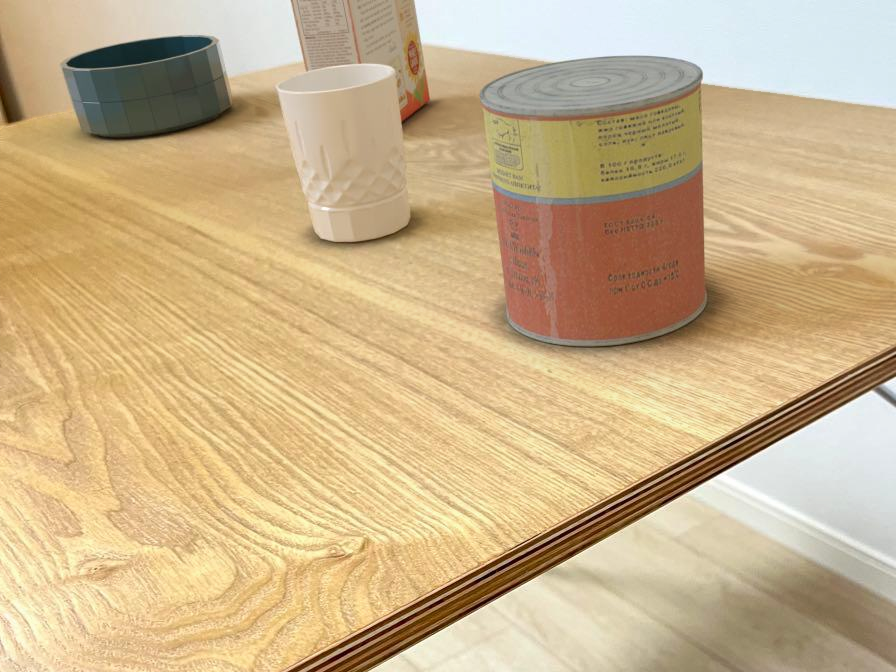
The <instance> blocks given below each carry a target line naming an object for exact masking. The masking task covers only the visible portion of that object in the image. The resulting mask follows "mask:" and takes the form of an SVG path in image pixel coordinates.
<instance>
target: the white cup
mask: <svg viewBox="0 0 896 672" xmlns="http://www.w3.org/2000/svg"><path fill="white" fill-rule="evenodd" d="M274 88H275V92H276V95H277V99H278V103H279V107H280V111H281V114H282V118H283V122H284V126H285V129H286V133H287V137H288V141H289V146H290V149H291V154H292V158H293V160H294V161H293V162H294V164H295V169H296V170H297V174H298V176H299V177H298V178H299V181H300V186H301V189H302V192H303V195H304V198H305V199H306V200H307V206H308V207H307V208H308V211H309V215H310V219H311V222H312V226H313V230H314V233H315V234H316V235H317V236H318V237H319V238H320V239H321V240H324V241H329V242H334V243H356V242H363V241H369V240H375V239H379V238H383V237H386V236H388V235H392V234H395V233H397V232H398V231H400V230H402V229H403V228H405V227H406V226H408V224H409V223H410V220H411V217H412V216H411V206H410V200H409V192H408V186H407V183H408V171H407V170H408V169H407V162H406V149H405V141H404V139H405V138H404V132H403V125H402V124H403V123H402V122H401V115H400V106H399V98H398V89H397V81H396V72H395V69H394V68H393V67H391V66H388V65H383V64H349V65H340V66H332V67H326V68H320V69H315V70H311V71H307V72H306V71H302V72H299V73H296V74H293V75H290V76H287V77H285V78H283V79H281V80H280V81H278V82H276V84H275V86H274Z"/></svg>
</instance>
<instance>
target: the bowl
mask: <svg viewBox="0 0 896 672" xmlns="http://www.w3.org/2000/svg"><path fill="white" fill-rule="evenodd" d="M59 66H60V70H61V73H62V77H63V80H64V83H65V86H66V89H67V92H68V95H69V98H70V102H71V105H72V108H73V112H74V116H75V118H76V122H77V124H78V127H79V129H80V130H81V131H82V132H84V133H88V134H93V135H96V136H98V137H102V138H103V137H104V138H113V139H115V138H116V139H117V138H125V139H126V138H139V137H147V136H152V135H153V136H155V135H160V134H165V133H170V132H171V133H172V132H176V131H180V130H184V129H188V128H191V127H194V126H198V125H202V124H204V123H206V122H209V121H211V120H213V119H216V118H217V117H218V116H220V115H222V113H224V111H225V110H227V109H229V108H230V107H231V106H232V105H233V103H234V98H233V93H232V90H231V89H232V88H231V85H230V81H229V76H228V73H227V68H226V63H225V60H224V56H223V50H222V47H221V43H220V39H219V38H217V37H215V36H212V35H205V34H179V35H167V36H157V37H150V38H149V37H148V38H143V39H142V38H141V39H136V40H131V41H124V42H119V43H114V44H110V45H105V46H102V47H101V46H100V47H97V48H93V49H89V50H86V51H84V52H80V53H77V54H74V55H72V56H69V57H67V58H66V59H63V61H61V62H60V63H59Z"/></svg>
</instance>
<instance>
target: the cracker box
mask: <svg viewBox="0 0 896 672" xmlns="http://www.w3.org/2000/svg"><path fill="white" fill-rule="evenodd" d="M415 2H416V1H415V0H290V4H291V9H292V14H293V19H294V23H295V27H296V32H297V37H298V42H299V46H300V51H301V56H302V58H303V59H302V60H303V65H304V70H305V72H307V71H311V70H315V69H320V68H326V67H332V66H340V65H349V64H383V65H388V66H391V67H393V68H394V69H395V72H396V81H397V89H398V98H399V106H400V115H401V123H402V122H404V121H405V120H407V119H408V118H409V117H410V116H411V115H413V114H414V113H415V112H416V111H418V110H419V109H420V108H422V107H423V106H424V105H425V104H427V103H428V102H429V101H430V99H431V98H430V91H429V84H428V79H427V73H426V66H425V58H424V53H423V52H424V51H423V46H422V39H421V33H420V27H419V21H418V15H417V9H416V3H415Z"/></svg>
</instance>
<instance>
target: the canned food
mask: <svg viewBox="0 0 896 672" xmlns="http://www.w3.org/2000/svg"><path fill="white" fill-rule="evenodd" d="M703 79H704V72H703V70H702V68H701V67H700V66H699V65H697V64H695V63H693V62H691V61H689V60H685V59H681V58H680V59H679V58H675V57H668V56H657V55H656V56H655V55H610V56H609V55H608V56H607V55H606V56H594V57H585V58H576V59H569V60H563V61H557V62H556V61H555V62H550V63H546V64H541V65H536V66H531V67H527V68H523V69H520V70H516V71H514V72H511V73H508V74H504V75H502V76H500V77H498V78H495V79H493V80H492V81H489V82H488V83H486V84H485V85H484V86H483V87H482V88H481V90H479V94H478V95H479V101H480V103H481V104H482V112H483V120H484V128H485V137H486V144H487V145H486V146H487V153H488V161H489V168H490V169H489V170H490V177H491V185H492V195H493V202H494V203H493V204H494V209H495V210H494V211H495V218H496V228H497V234H498V243H499V252H500V258H501V268H502V275H503V283H504V290H505V291H504V293H505V300H506V301H505V302H506V308H505V314H506V319H507V322H508V323H509V324H510V326H511V327H512V329H515V330H516V331H517V332H518V333H520V334H522V335H524V336H526V337H528V338H531V339H533V340H536V341H540V342H543V343H547V344H554V345H560V346H567V347H608V346H618V345H627V344H631V343H637V342H643V341H647V340H650V339H651V340H652V339H654V338H657V337H661V336H664V335H666V334H669V333H672V332H674V331H676V330H679V329H681V328H683V327H685V326H686V325H688V324H689V323H691V322H692V321H694V320H695V319H696V318H697V317H698V316H699V315H700V314H702V312H703V311H704V310H705V307H706V305H707V302H708V294H707V290H706V289H707V288H706V266H705V265H706V261H705V260H706V259H705V219H704V213H705V212H704V209H705V208H704V168H703V166H704V165H703V164H704V163H703V118H702V117H703V115H702V114H703V113H702V111H703V110H702V109H703V108H702V81H703Z"/></svg>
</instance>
